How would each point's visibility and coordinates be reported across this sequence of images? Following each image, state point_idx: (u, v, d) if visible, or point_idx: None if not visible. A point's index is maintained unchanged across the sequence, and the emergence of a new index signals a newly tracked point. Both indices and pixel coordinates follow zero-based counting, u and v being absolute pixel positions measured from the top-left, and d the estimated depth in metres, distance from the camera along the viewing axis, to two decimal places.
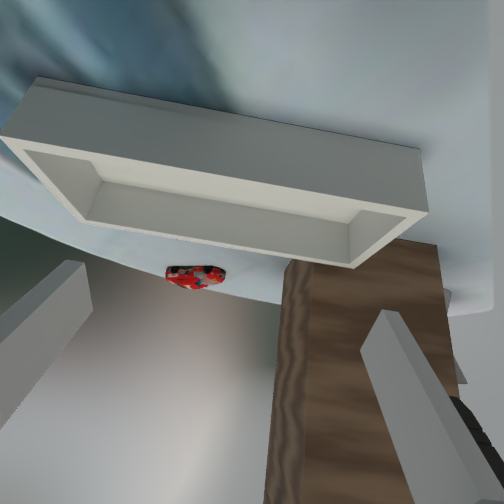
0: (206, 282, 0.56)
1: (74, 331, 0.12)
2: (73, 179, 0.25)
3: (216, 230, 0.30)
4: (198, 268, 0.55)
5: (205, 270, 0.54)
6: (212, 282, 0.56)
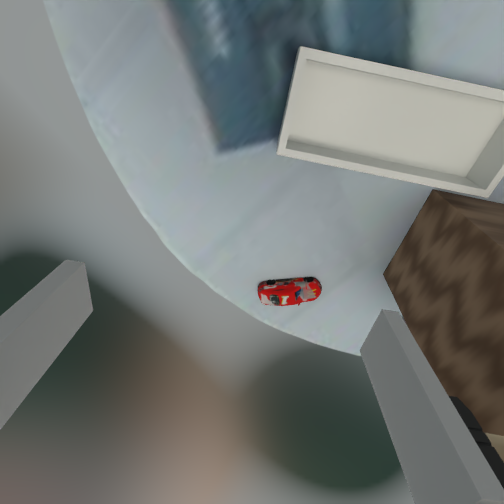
0: (303, 295, 0.56)
1: (74, 331, 0.12)
2: None
3: (378, 165, 0.38)
4: (298, 279, 0.57)
5: (306, 280, 0.56)
6: (309, 295, 0.56)
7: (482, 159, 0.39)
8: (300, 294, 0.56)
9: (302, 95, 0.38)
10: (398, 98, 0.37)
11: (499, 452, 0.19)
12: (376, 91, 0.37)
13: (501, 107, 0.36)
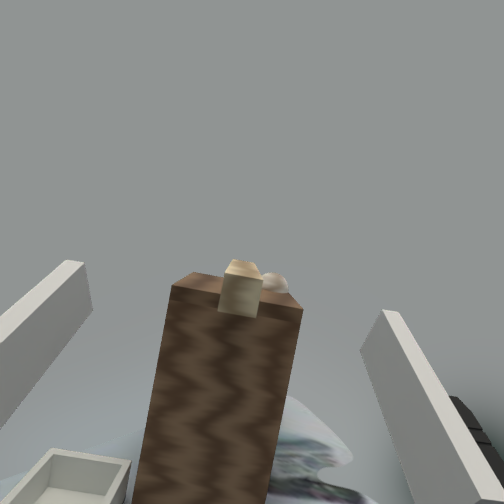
0: None
1: (74, 331, 0.12)
2: None
3: None
4: None
5: None
6: None
7: (96, 487, 0.40)
8: None
9: None
10: None
11: None
12: None
13: (46, 494, 0.39)
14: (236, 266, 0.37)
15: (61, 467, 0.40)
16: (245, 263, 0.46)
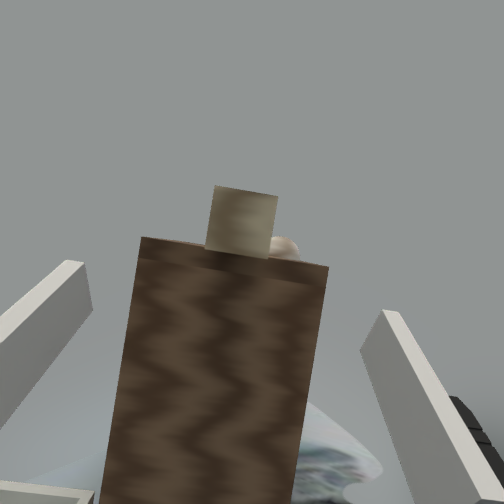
0: None
1: (74, 331, 0.12)
2: None
3: None
4: None
5: None
6: None
7: None
8: None
9: None
10: None
11: None
12: None
13: None
14: None
15: None
16: None
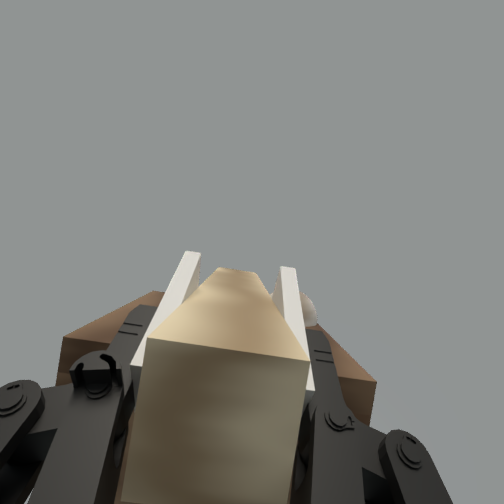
0: None
1: None
2: None
3: None
4: None
5: None
6: None
7: None
8: None
9: None
10: None
11: None
12: None
13: None
14: (218, 287, 0.16)
15: None
16: (240, 275, 0.24)
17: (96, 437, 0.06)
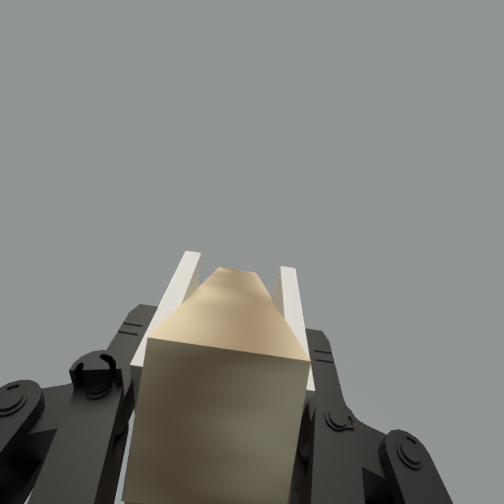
0: None
1: None
2: None
3: None
4: None
5: None
6: None
7: None
8: None
9: None
10: None
11: None
12: None
13: None
14: (218, 287, 0.16)
15: None
16: (240, 275, 0.24)
17: (96, 437, 0.06)
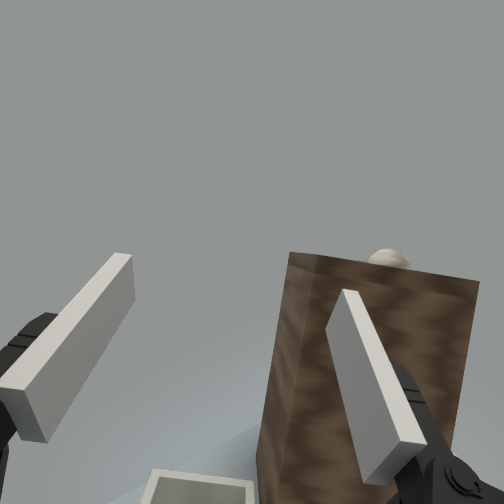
0: None
1: (122, 318, 0.13)
2: None
3: None
4: None
5: None
6: None
7: None
8: None
9: None
10: None
11: None
12: None
13: None
14: None
15: (169, 493, 0.32)
16: None
17: None
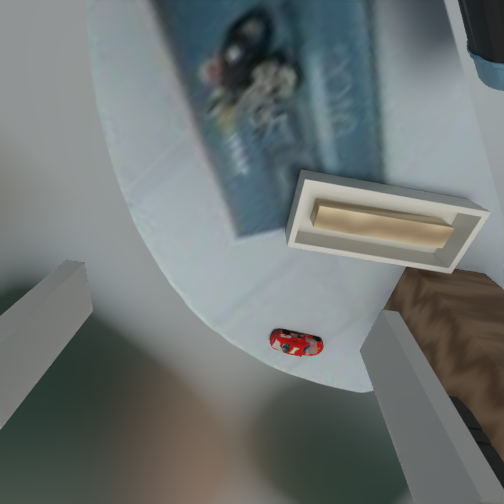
0: (308, 350, 0.66)
1: (74, 331, 0.12)
2: None
3: (366, 251, 0.49)
4: (308, 336, 0.67)
5: (315, 339, 0.67)
6: (312, 351, 0.67)
7: None
8: (307, 349, 0.66)
9: None
10: (377, 201, 0.49)
11: (325, 201, 0.48)
12: (361, 197, 0.48)
13: None
14: (372, 220, 0.46)
15: (469, 220, 0.46)
16: (417, 235, 0.47)
17: None
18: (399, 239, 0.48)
